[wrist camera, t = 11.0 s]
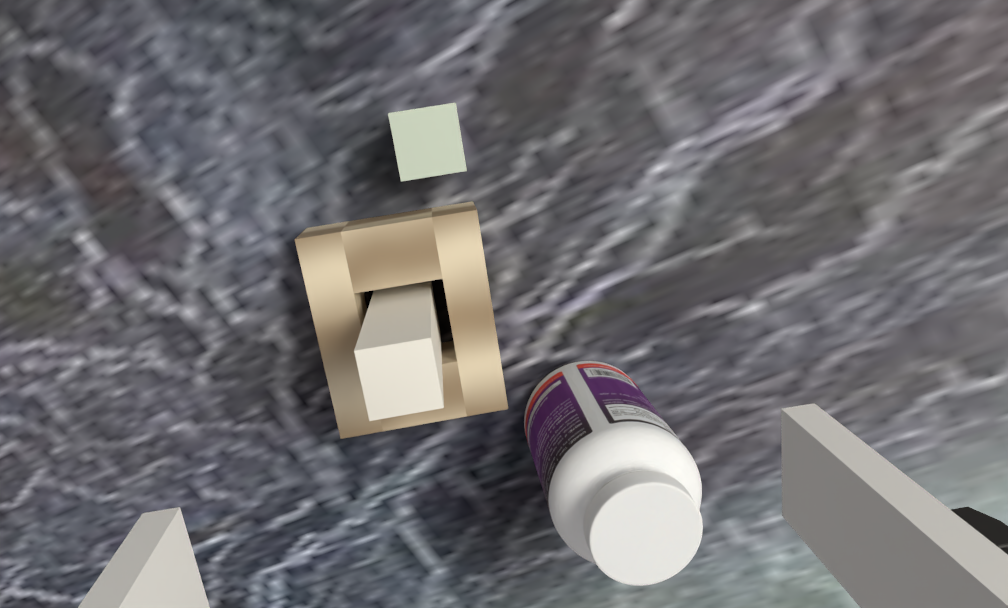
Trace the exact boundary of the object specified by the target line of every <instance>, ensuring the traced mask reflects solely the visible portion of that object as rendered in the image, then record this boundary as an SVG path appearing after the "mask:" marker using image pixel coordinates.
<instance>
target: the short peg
mask: <svg viewBox="0 0 1008 608" xmlns="http://www.w3.org/2000/svg"><path fill="white" fill-rule="evenodd" d="M388 116H389V121H390V127H391V132H392V137H393V142H394V148H395V153H396V158H397V163H398V169H399V174H400V179H401V182H402V181H408V180H414V179H420V178H426V177H432V176H439V175H445V174H451V173H457V172H463V171H467V169H466V163H465V157H464V151H463V145H462V139H461V133H460V127H459V121H458V115H457V108H456V103H450V104H444V105H438V106H431V107H425V108H419V109H412V110H406V111H399V112H393V113H388Z"/></svg>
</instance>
